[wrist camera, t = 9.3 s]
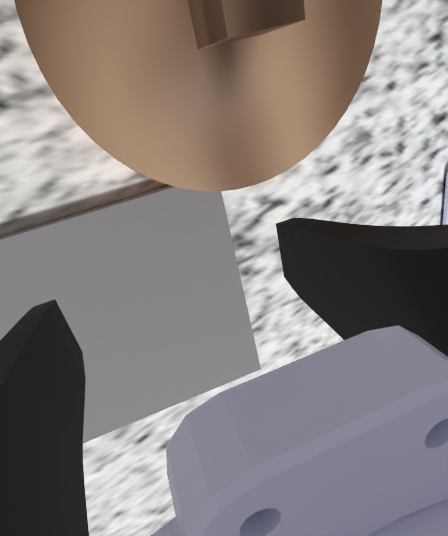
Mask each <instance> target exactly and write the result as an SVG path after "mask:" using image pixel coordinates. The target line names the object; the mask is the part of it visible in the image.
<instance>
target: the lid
mask: <svg viewBox="0 0 448 536" xmlns="http://www.w3.org/2000/svg"><path fill="white" fill-rule="evenodd" d="M15 4H16V9H17V12H18V15H19V18H20V21H21V24H22V27H23V30H24V33H25V36H26V39H27V42H28V44H29V46H30V49H31V51H32V53H33V55H34V57H35V59H36V61H37V64H38V66H39V68H40V70H41V72H42V74H43V76H44V77H45V79H46V81H47V82H48V84H49V86H50V87H51V89H52V91H53V92H54V94H55V95H56V97H57V99H58V100H59V101H60V103H61V104H62V105H63V107H64V108H65V109H66V111H67V112H68V113H69V114H70V116H71V117H72V118H73V120H74V121H75V122H76V123H77V124H78V125H79V126H80V127H81V128H82V129H83V131H84V132H85V133H86V134H87V135H88V136H89V137H90V138H91V139H92V140H93V141H94V142H95V143H96V144H98V145H99V146H100V147H101V148H103V149H104V150H105V151H106V152H108V153H109V154H110V155H111V156H112V157H114V158H115V159H117V160H118V161H120V162H121V163H123V164H125V165H126V166H128V167H129V168H131V169H133V170H134V171H136V172H138V173H140V174H142V175H145V176H147V177H149V178H151V179H153V180H155V181H158V182H162V183H165V184H168V185H171V186H174V187H178V188H184V189H190V190H196V191H225V190H235V189H240V188H244V187H248V186H252V185H256V184H258V183H261V182H264V181H266V180H269V179H271V178H273V177H275V176H277V175H279V174H281V173H283V172H285V171H286V170H288V169H290V168H291V167H293V166H294V165H296V164H297V163H298V162H300V161H301V160H302V159H304V158H305V157H306V156H308V155H309V154H310V153H311V152H312V151H313V150H314V149H315V148H316V147H317V146H318V145H320V144H321V142H322V141H323V140H324V139H325V138H326V137H327V136H328V134H329V133H330V132H331V131H332V130H333V129H334V127H335V126H336V125H337V123H338V122H339V120H340V119H341V117H342V116H343V114H344V113H345V112H346V110H347V108H348V106H349V105H350V103H351V101H352V99H353V97H354V96H355V94H356V92H357V90H358V88H359V85H360V83H361V81H362V79H363V76H364V74H365V72H366V69H367V66H368V63H369V60H370V57H371V54H372V51H373V48H374V43H375V39H376V35H377V30H378V26H379V21H380V13H381V6H382V0H15Z"/></svg>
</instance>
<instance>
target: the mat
mask: <svg viewBox="0 0 448 536" xmlns="http://www.w3.org/2000/svg"><path fill="white" fill-rule="evenodd" d="M54 299H55V300H56V302H57V304H58V306H59V308H60V309H61V311H62V313H63V315H64V317H65V319H66V321H67V323H68V325H69V327H70V329H71V331H72V333H73V334H74V336H75V338H76V340H77V342H78V344H79V346H80V348H81V350H82V352H83V360H84V368H85V378H86V381H85V406H84V426H83V443H85V442H87V441H90V440H92V439H94V438H97V437H99V436H102V435H104V434H106V433H109V432H111V431H114V430H116V429H118V428H121V427H123V426H125V425H128V424H130V423H133V422H135V421H137V420H140V419H142V418H145V417H147V416H149V415H152V414H154V413H157V412H159V411H161V410H164V409H166V408H169V407H171V406H173V405H176V404H178V403H181V402H183V401H185V400H188V399H190V398H193V397H195V396H197V395H200V394H202V393H205V392H207V391H209V390H212V389H214V388H217V387H219V386H221V385H224V384H226V383H229V382H231V381H233V380H236V379H238V378H241V377H243V376H245V375H248V374H250V373H253V372H255V371H257V370H260V369H261V368H260V364H259V359H258V355H257V350H256V346H255V341H254V337H253V332H252V328H251V324H250V319H249V315H248V310H247V306H246V301H245V297H244V292H243V288H242V283H241V279H240V274H239V270H238V265H237V261H236V256H235V252H234V247H233V243H232V239H231V234H230V230H229V225H228V221H227V216H226V212H225V207H224V203H223V198H222V194H221V191H196V190H190V189H184V188H178V187H174V186H171V185H170V186H167V187H163V188H160V189H157V190H153V191H150V192H147V193H143V194H140V195H137V196H133V197H130V198H127V199H123V200H120V201H117V202H114V203H110V204H107V205H104V206H100V207H97V208H94V209H90V210H87V211H84V212H80V213H77V214H74V215H70V216H67V217H64V218H61V219H57V220H54V221H51V222H47V223H44V224H41V225H37V226H34V227H31V228H27V229H24V230H21V231H17V232H14V233H11V234H8V235H4V236H1V237H0V340H1V339H2V338H3V337H4V336H5V335H6V334H7V333H8V332H9V331H10V330H11V328H12V327H13V326H14V325H15V324H16V323H17V322H18V321H19V320H20V319H21V318H22V317H23V316H24V315H25V314H26V313H27V312H28V311H29V310H30V309H31V308H33V307H34V306H36V305H39V304H42V303H45V302H48V301H51V300H54Z"/></svg>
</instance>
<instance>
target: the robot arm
mask: <svg viewBox="0 0 448 536" xmlns="http://www.w3.org/2000/svg"><path fill="white" fill-rule="evenodd" d="M276 227H277V234H278V240H279V247H280V253H281V259H282V266H283V272H284V277H285V278H286V280H287V281H288V283H289V284H290V285H291V287H292V288H293V289H294V291H295V292H296V293H297V294H298V296H299V297H300V298H301V299H302V300H303V301H304V302H305V303H306V304H307V305H308V306H309V307H310V308H311V309H312V310H313V311H314V312H315V313H317V314H318V315H319V316H320V317H321V318H322V319H323V320H324V321H325V322H326V323H327V324H328V325H329V326H330V327H331V328H332V329H333V330H334V331H335V332H336V333H338V334H339V335H340V336H341V337H342V338H343V339H344V341H342V342H340V343H337V344H335V345H332V346H330V347H328V348H325V349H323V350H320V351H318V352H316V353H313V354H311V355H309V356H306V357H304V358H301V359H299V360H297V361H294V362H292V363H290V364H287V365H285V366H282V367H280V368H278V369H275V370H273V371H271V372H268V373H266V374H263V375H261V376H259V377H256V378H254V379H252V380H249V381H247V382H244V383H242V384H240V385H237V386H235V387H233V388H230V389H228V390H225V391H223V392H221V393H219V394H217V395H216V396H214V397H213V398H211V399H210V400H208V401H207V402H205V403H204V404H202V405H201V406H199V407H198V408H196V409H195V410H193V411H192V412H190V413H189V414H187V415H186V416H185V418H184V419H183V421H182V422H181V424H180V426H179V427H178V429H177V430H176V432H175V433H174V435H173V436H172V438H171V440H170V441H169V443H168V444H167V446H166V453H167V475H168V480H169V484H170V489H171V494H172V499H173V504H174V508H175V513H176V517H174V518H173V519H172V520H171V521H169V522H168V523H167V524H165V525H164V526H163V527H161V528H160V529H159V530H157V531H156V532H155V533H153V534H152V535H151V536H448V172H447V175H446V187H445V200H444V213H443V225H433V226H411V227H408V226H372V225H359V224H349V223H340V222H332V221H325V220H317V219H307V218H292V219H289V220H286V221H283V222H280V223H277V224H276ZM85 381H86V378H85V368H84V360H83V352H82V350H81V348H80V346H79V344H78V342H77V340H76V338H75V336H74V334H73V333H72V331H71V329H70V327H69V325H68V323H67V321H66V319H65V317H64V315H63V313H62V311H61V309H60V308H59V306H58V304H57V302H56V300H55V299H54V300H51V301H48V302H45V303H42V304H39V305H36V306H34V307H33V308H31V309H30V310H29V311H28V312H27V313H26V314H25V315H24V316H23V317H22V318H21V319H20V320H19V321H18V322H17V323H16V324H15V325H14V326H13V327H12V328H11V330H10V331H9V332H8V333H7V334H6V335H5V336H4V337H3V338H2V339H1V340H0V536H89V532H88V521H87V510H86V500H85V487H84V473H83V426H84V406H85Z"/></svg>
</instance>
